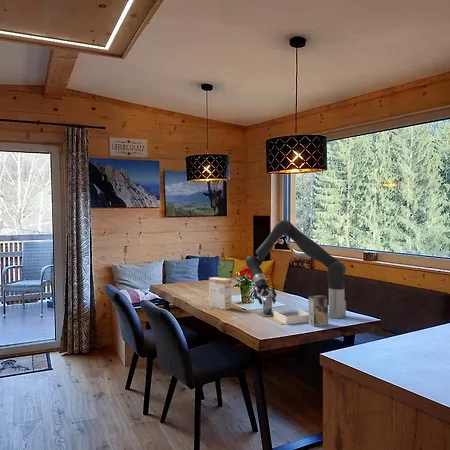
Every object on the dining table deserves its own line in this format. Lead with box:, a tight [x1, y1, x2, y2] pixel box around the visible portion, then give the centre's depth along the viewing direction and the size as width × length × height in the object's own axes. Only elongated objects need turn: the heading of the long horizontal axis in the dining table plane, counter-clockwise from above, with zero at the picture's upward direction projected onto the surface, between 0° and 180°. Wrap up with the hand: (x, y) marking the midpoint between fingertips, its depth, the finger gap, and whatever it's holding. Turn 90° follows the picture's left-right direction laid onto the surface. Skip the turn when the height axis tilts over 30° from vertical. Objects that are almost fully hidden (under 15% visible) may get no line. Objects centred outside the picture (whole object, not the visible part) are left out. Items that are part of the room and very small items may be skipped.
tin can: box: [262, 296, 273, 315], centre depth 268 cm, size 6×6×10 cm
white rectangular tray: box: [268, 308, 309, 325], centre depth 257 cm, size 23×18×4 cm
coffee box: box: [308, 294, 329, 327], centre depth 244 cm, size 9×6×16 cm
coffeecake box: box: [208, 276, 233, 311], centre depth 288 cm, size 15×7×20 cm, turn 44°
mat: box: [256, 311, 274, 318], centre depth 268 cm, size 10×10×1 cm
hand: (268, 303), depth 266 cm, fingers open, 8 cm apart
